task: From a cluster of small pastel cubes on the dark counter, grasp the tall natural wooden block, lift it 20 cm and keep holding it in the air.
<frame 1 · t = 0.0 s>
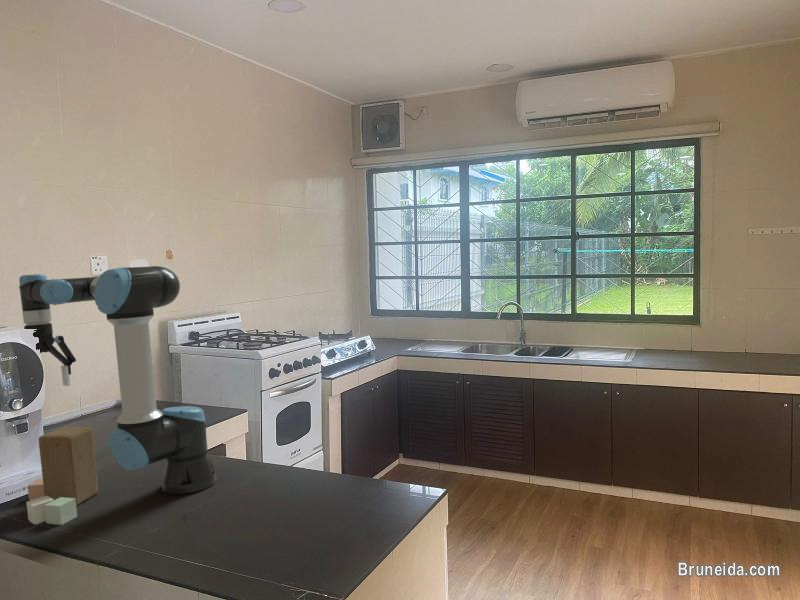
hand: (45, 390, 190), 28 cm above the counter, fingers open, 13 cm apart
cube cream: (42, 519, 159), on the counter
wooden block: (72, 500, 171), on the counter
cube sage: (62, 520, 157), on the counter
cube tan: (43, 498, 174), on the counter
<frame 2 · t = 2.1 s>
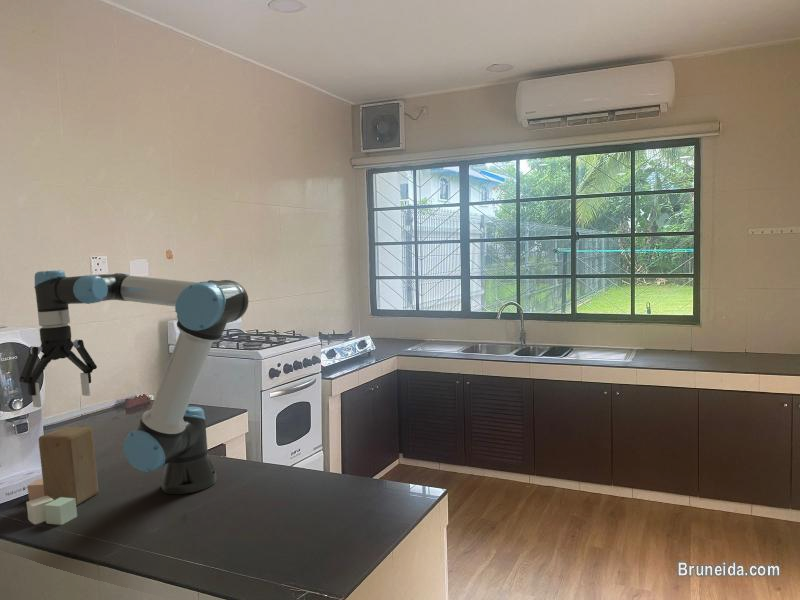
hand: (62, 400, 169), 29 cm above the counter, fingers open, 13 cm apart
nothing on the counter moved.
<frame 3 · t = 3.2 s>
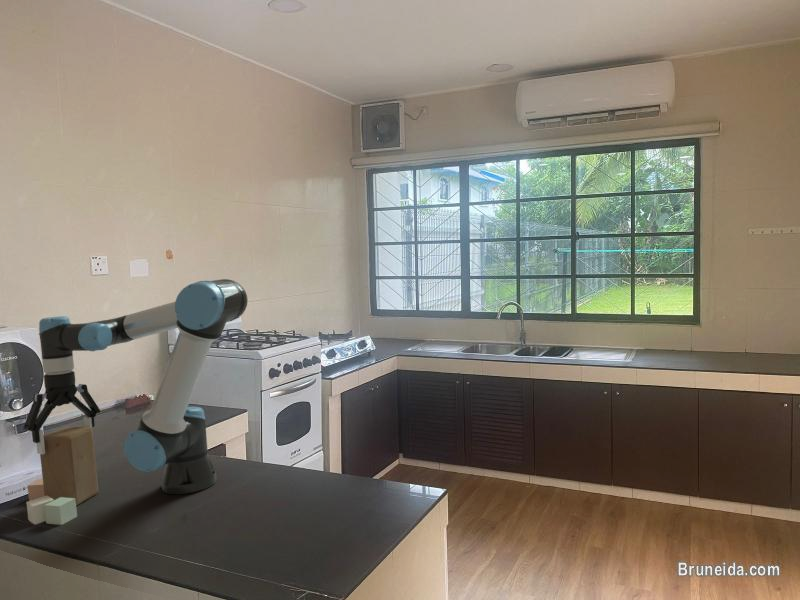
hand: (66, 446, 170), 16 cm above the counter, fingers open, 13 cm apart
nothing on the counter moved.
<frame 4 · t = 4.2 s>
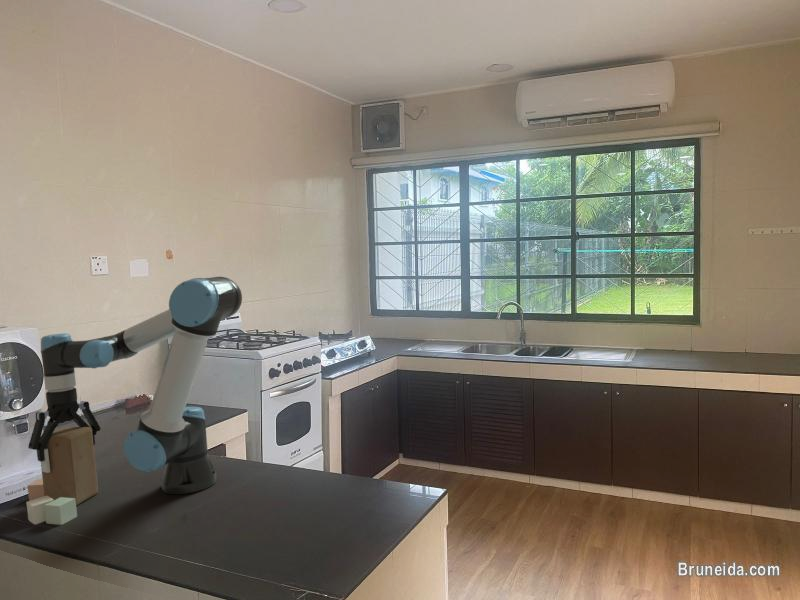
hand: (68, 464, 170), 10 cm above the counter, fingers closed on wooden block, 12 cm apart
wooden block: (72, 500, 171), on the counter, touching gripper
everything else where it was.
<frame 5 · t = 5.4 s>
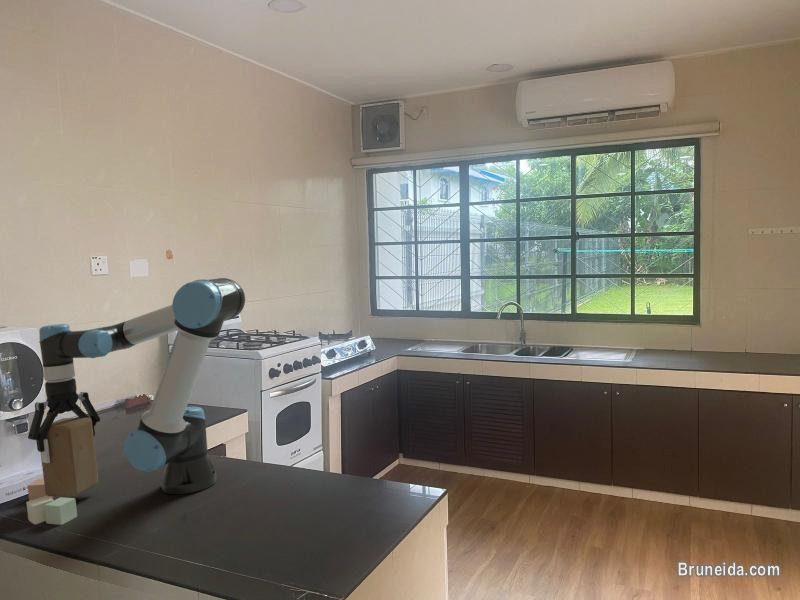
hand: (68, 455, 170), 13 cm above the counter, fingers closed on wooden block, 12 cm apart
wooden block: (73, 491, 170), point 2 cm above the counter, touching gripper
everything else where it was.
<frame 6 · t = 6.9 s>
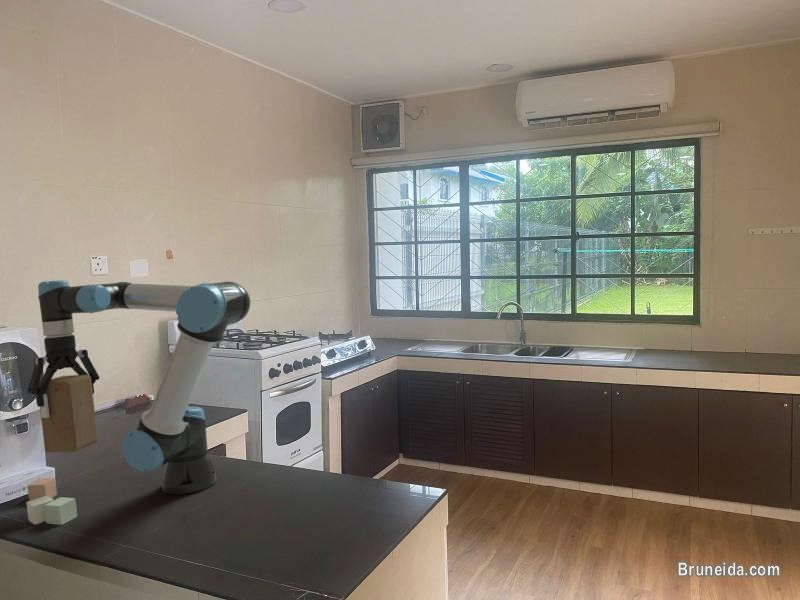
hand: (68, 411, 169), 25 cm above the counter, fingers closed on wooden block, 12 cm apart
wooden block: (72, 448, 170), point 15 cm above the counter, touching gripper
everything else where it was.
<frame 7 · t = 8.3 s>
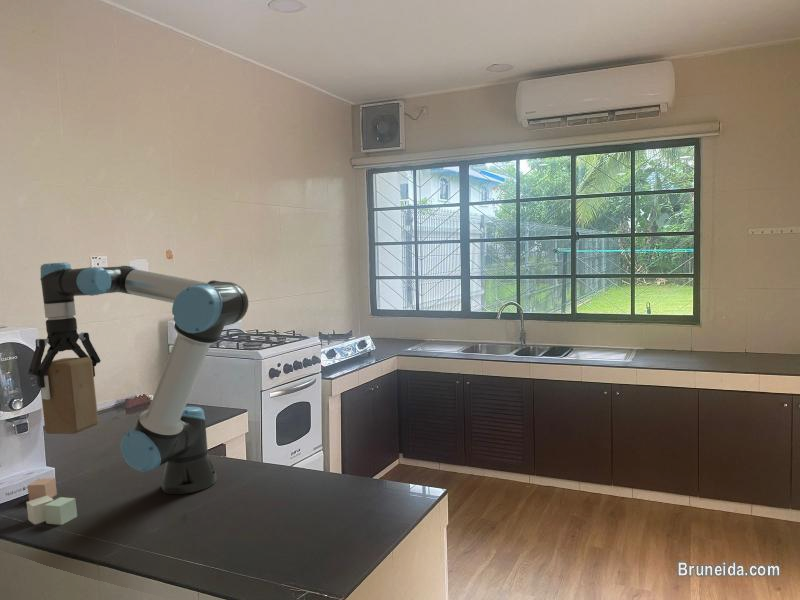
hand: (68, 393, 170), 30 cm above the counter, fingers closed on wooden block, 12 cm apart
wooden block: (72, 430, 171), point 20 cm above the counter, touching gripper
everything else where it was.
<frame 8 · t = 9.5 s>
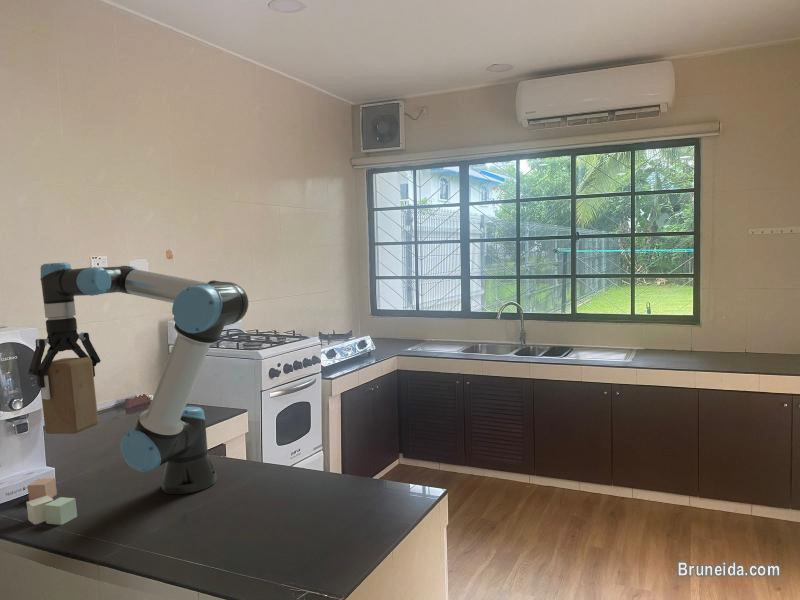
hand: (68, 393, 170), 30 cm above the counter, fingers closed on wooden block, 12 cm apart
wooden block: (72, 430, 171), point 20 cm above the counter, touching gripper
everything else where it was.
at the end: the gripper is holding wooden block; wooden block point 19.7 cm above the counter; cube cream moved 0.1 cm from its start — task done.
